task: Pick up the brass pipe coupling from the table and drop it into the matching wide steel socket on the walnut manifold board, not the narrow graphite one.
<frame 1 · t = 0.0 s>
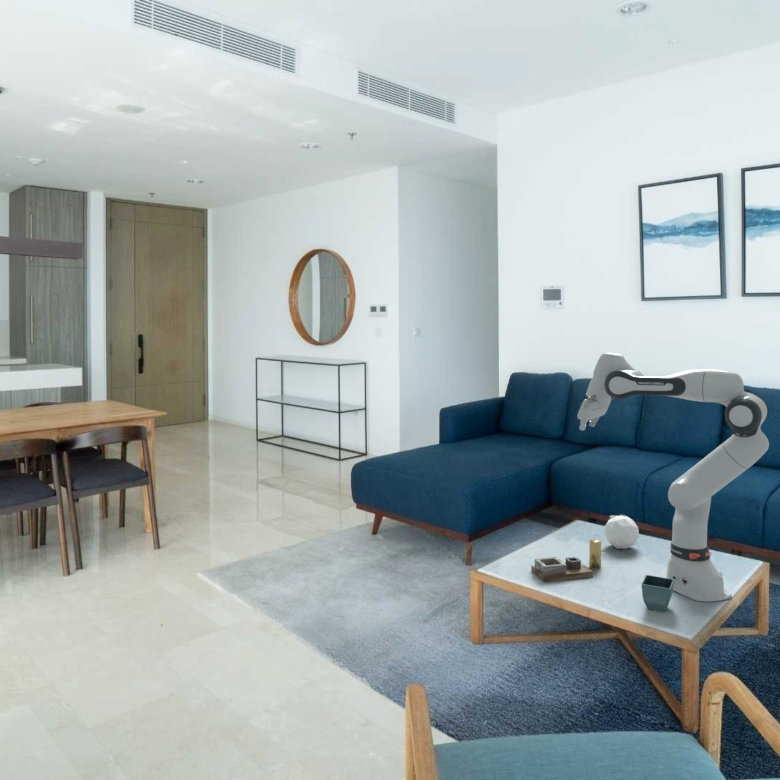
hand: (586, 428, 258), 52 cm above the table, tool tilted 20°, fingers open, 8 cm apart
brass coupling: (595, 567, 259), on the table
geodesic sphere: (621, 547, 280), on the table
flower pot: (657, 608, 222), on the table
manifold board: (561, 573, 252), on the table
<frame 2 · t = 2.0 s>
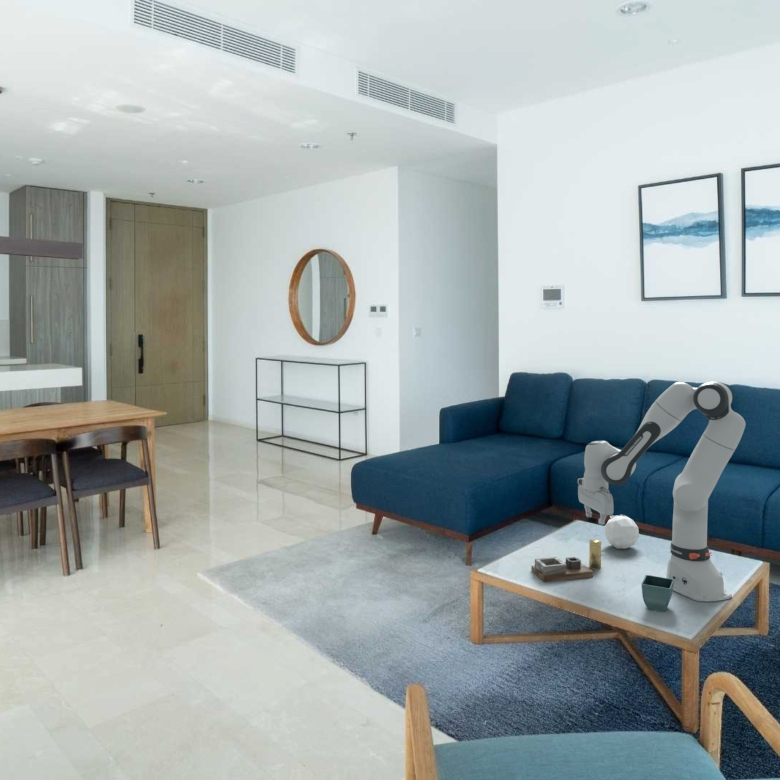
hand: (595, 520, 257), 18 cm above the table, tool pointing down, fingers open, 8 cm apart
nothing on the table moved.
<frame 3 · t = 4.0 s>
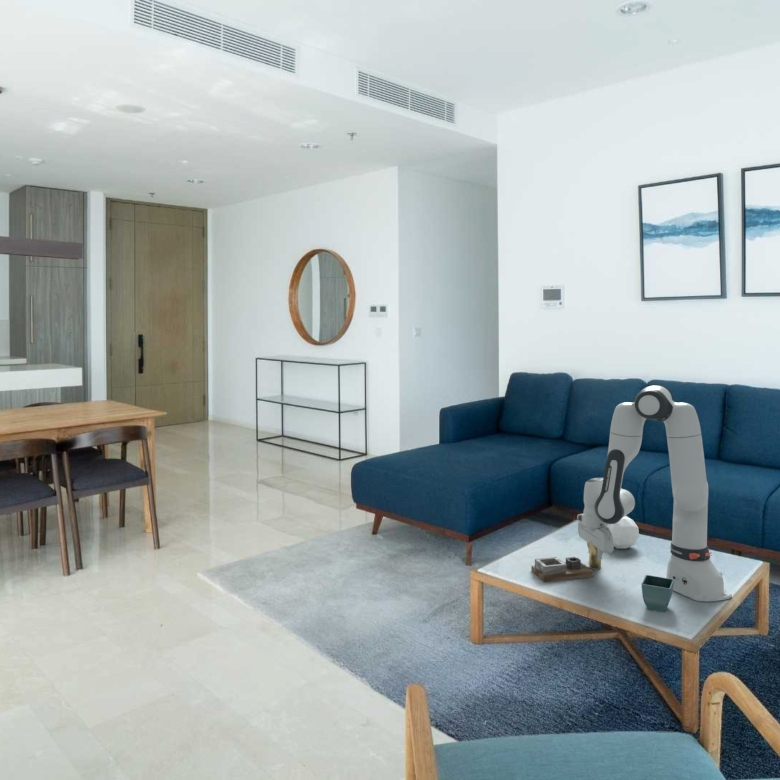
hand: (595, 556, 258), 4 cm above the table, tool pointing down, fingers closed on brass coupling, 4 cm apart
brass coupling: (595, 567, 259), on the table, touching gripper
everything else where it was.
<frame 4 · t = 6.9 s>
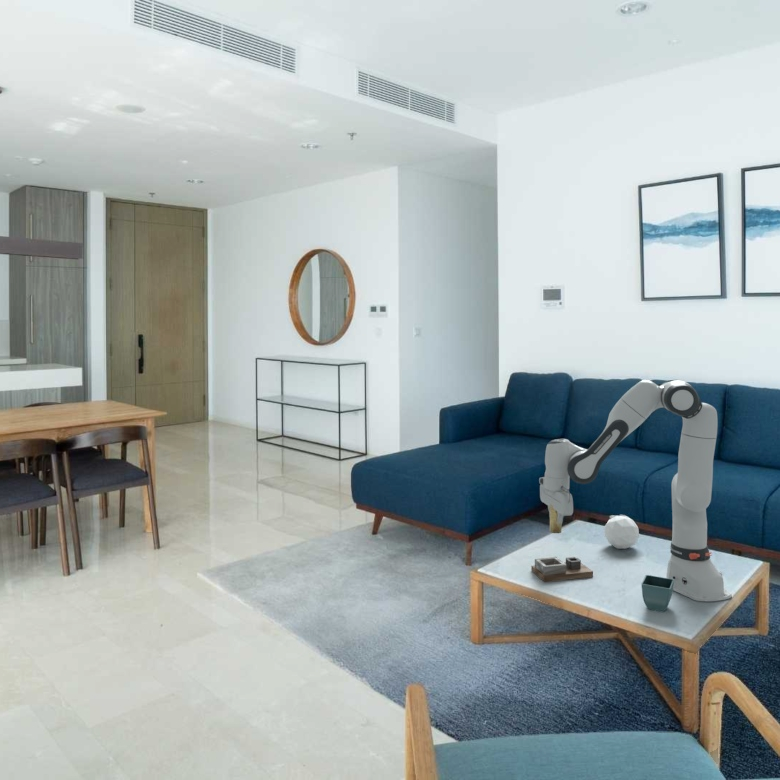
hand: (555, 520, 251), 20 cm above the table, tool pointing down, fingers closed on brass coupling, 4 cm apart
brass coupling: (555, 531, 251), point 16 cm above the table, touching gripper
everything else where it was.
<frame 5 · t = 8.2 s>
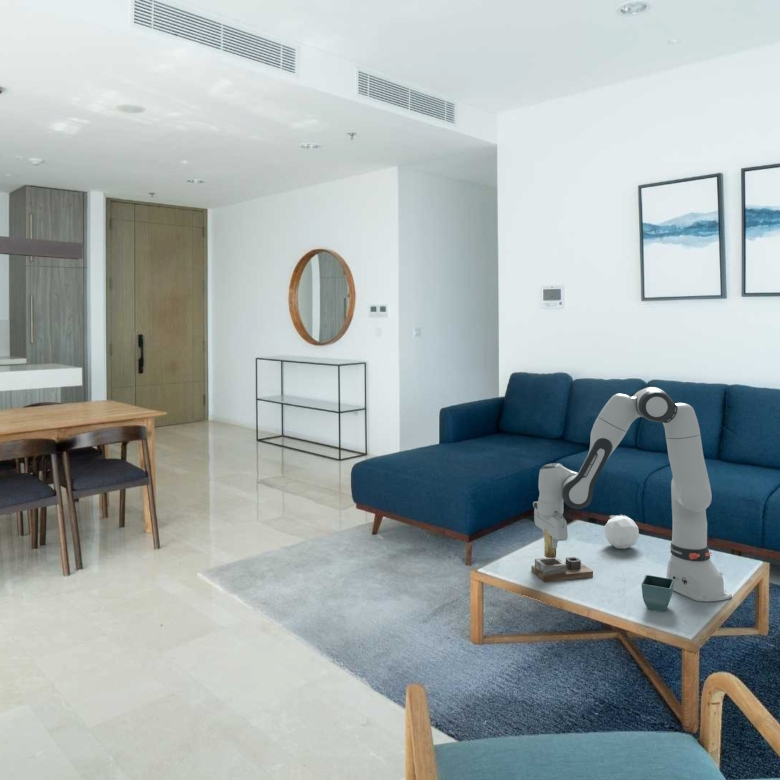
hand: (550, 545, 250), 11 cm above the table, tool pointing down, fingers closed on brass coupling, 4 cm apart
brass coupling: (550, 555, 251), point 7 cm above the table, touching gripper
everything else where it was.
when the fingers open (7 cm above the table, at t = 9.4 s): brass coupling stays where it is, resting on manifold board.
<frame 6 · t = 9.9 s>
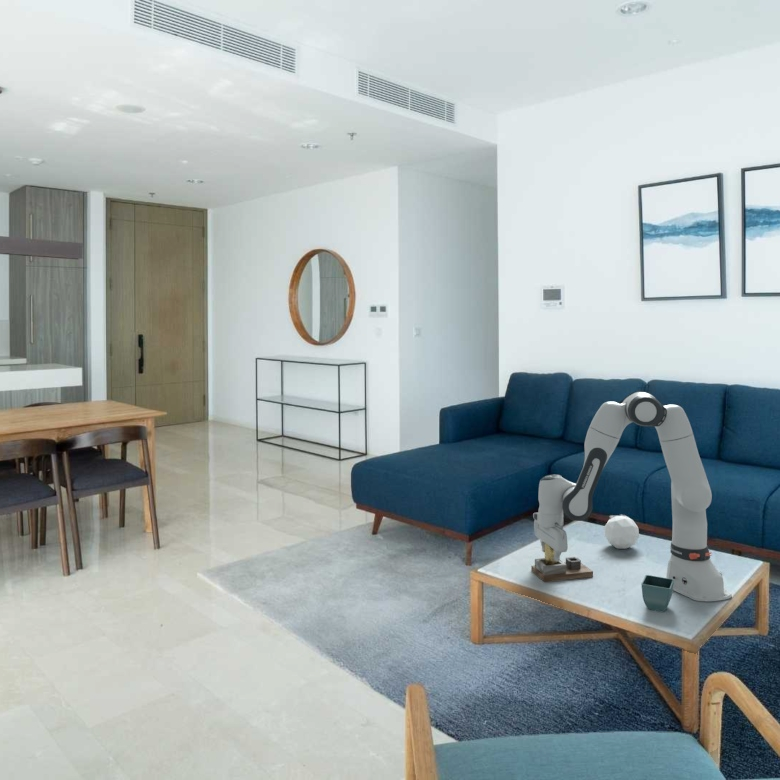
hand: (550, 556, 251), 7 cm above the table, tool pointing down, fingers open, 8 cm apart
brass coupling: (550, 569, 251), point 2 cm above the table, touching manifold board
everything else where it was.
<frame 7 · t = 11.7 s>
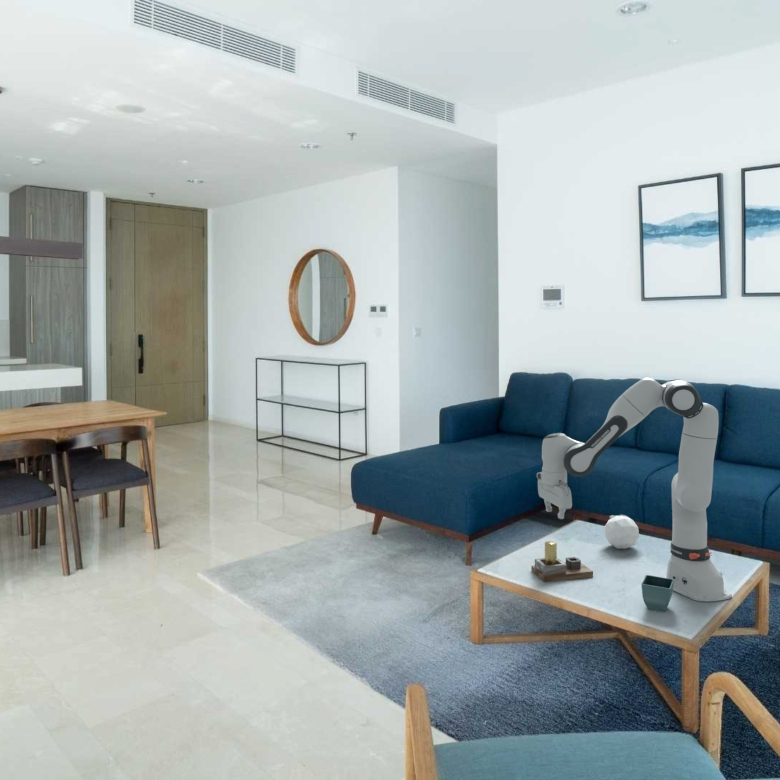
hand: (554, 514, 251), 22 cm above the table, tool pointing down, fingers open, 8 cm apart
nothing on the table moved.
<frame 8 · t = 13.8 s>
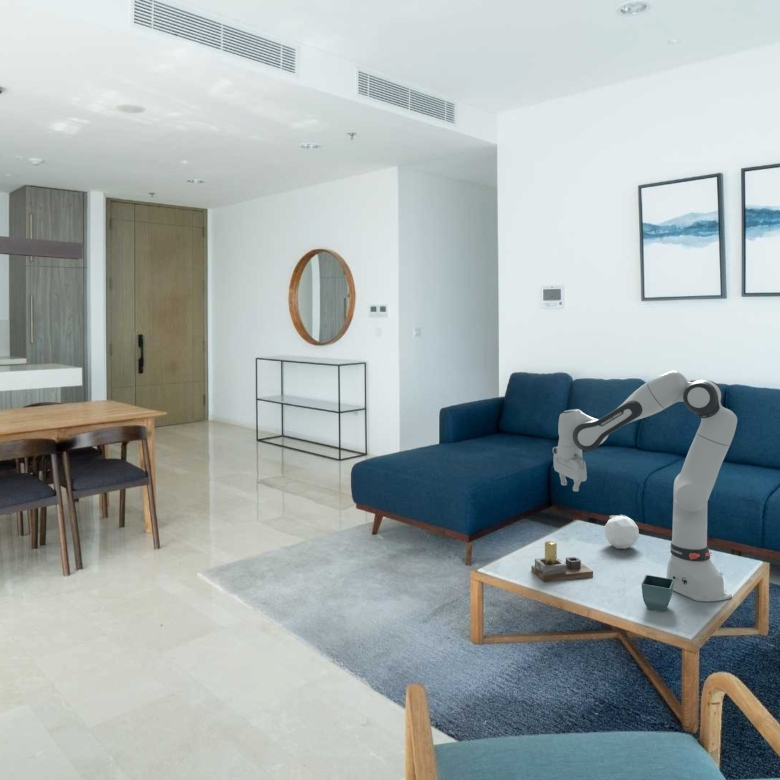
hand: (569, 488, 261), 29 cm above the table, tool pointing down, fingers open, 8 cm apart
nothing on the table moved.
at the end: brass coupling 0.1 cm from the target spot on the manifold board, point 2.0 cm above the manifold board's base; brass coupling tilted 0°; the gripper is holding nothing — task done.
